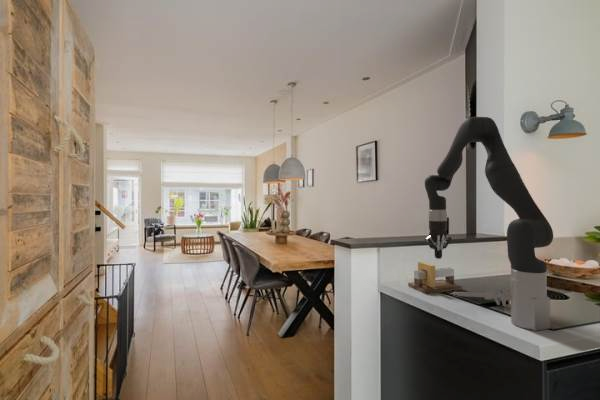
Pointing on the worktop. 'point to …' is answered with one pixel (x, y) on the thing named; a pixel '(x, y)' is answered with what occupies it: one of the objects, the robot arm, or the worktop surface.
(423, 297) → the worktop surface
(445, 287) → the pipe board
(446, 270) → the pipe
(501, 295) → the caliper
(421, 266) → the tan flat square slab
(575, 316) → the worktop surface
